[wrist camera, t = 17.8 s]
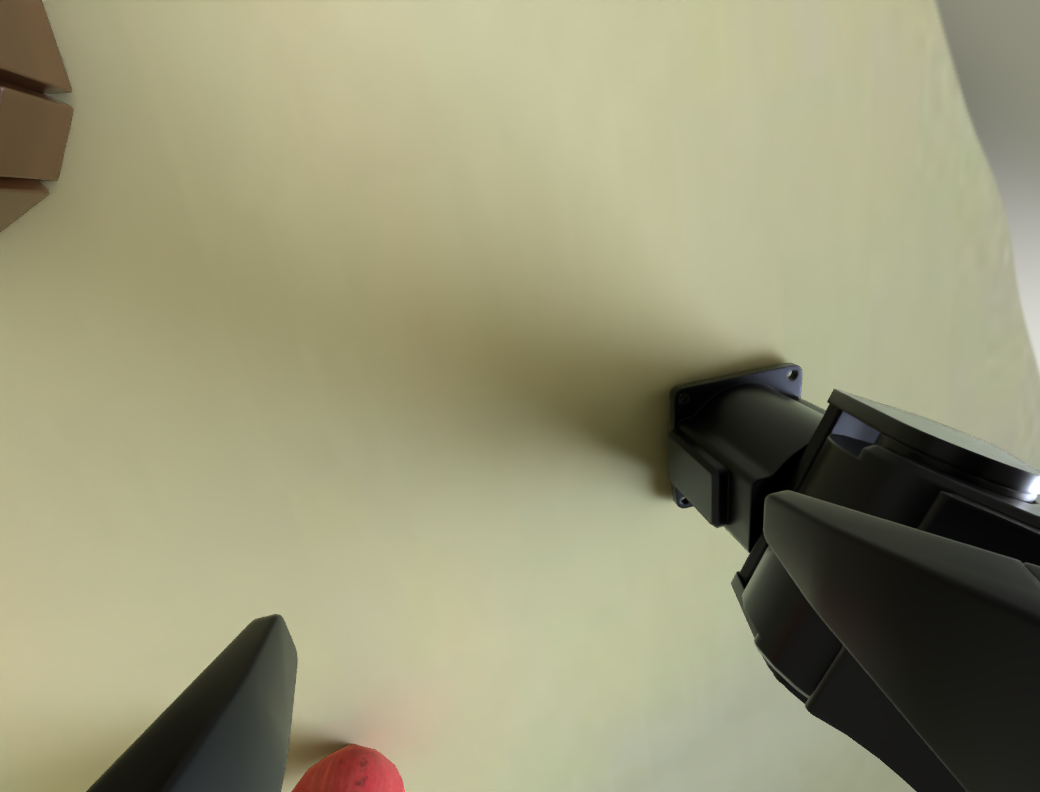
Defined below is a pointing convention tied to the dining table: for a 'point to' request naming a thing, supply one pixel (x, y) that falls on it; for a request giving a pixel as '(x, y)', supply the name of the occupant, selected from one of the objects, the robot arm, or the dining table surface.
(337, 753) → the onion
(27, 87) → the can holder
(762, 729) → the dining table surface
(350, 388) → the dining table surface
